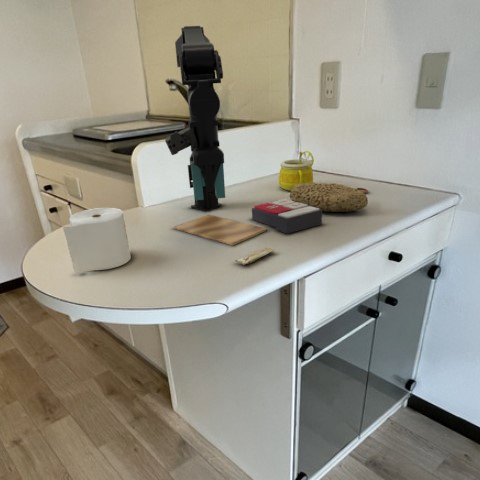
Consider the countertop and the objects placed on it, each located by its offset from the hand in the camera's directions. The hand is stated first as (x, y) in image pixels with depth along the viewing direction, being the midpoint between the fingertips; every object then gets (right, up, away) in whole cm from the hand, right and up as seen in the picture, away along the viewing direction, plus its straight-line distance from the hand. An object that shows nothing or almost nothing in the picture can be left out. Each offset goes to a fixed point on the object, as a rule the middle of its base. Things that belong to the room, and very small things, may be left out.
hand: (209, 189), depth 101 cm
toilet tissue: (-22, -18, -6) cm, 29 cm away
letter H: (0, -2, +1) cm, 2 cm away
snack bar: (+10, -17, -9) cm, 22 cm away
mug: (+25, +12, +38) cm, 47 cm away
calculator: (+19, -5, +11) cm, 22 cm away
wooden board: (+2, -8, +8) cm, 11 cm away
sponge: (+31, 0, +18) cm, 36 cm away
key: (+40, +6, +27) cm, 49 cm away
